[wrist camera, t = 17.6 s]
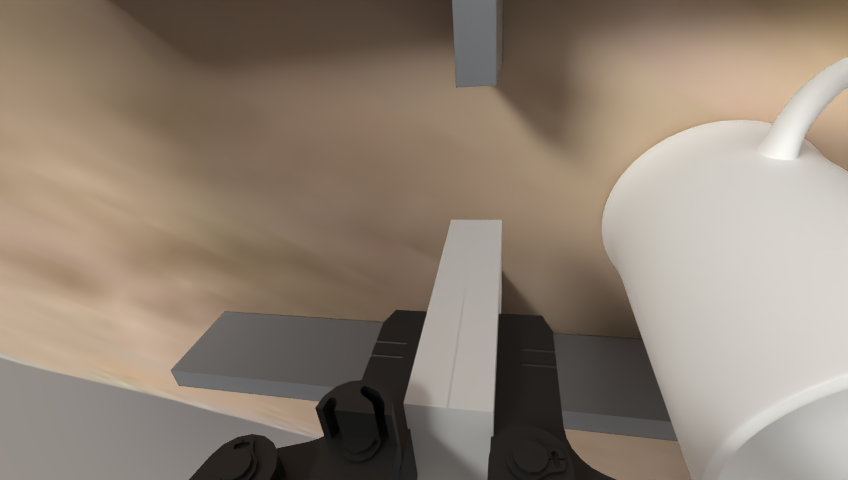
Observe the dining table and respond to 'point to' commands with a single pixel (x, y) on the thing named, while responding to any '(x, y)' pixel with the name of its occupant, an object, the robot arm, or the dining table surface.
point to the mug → (743, 289)
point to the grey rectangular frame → (354, 340)
